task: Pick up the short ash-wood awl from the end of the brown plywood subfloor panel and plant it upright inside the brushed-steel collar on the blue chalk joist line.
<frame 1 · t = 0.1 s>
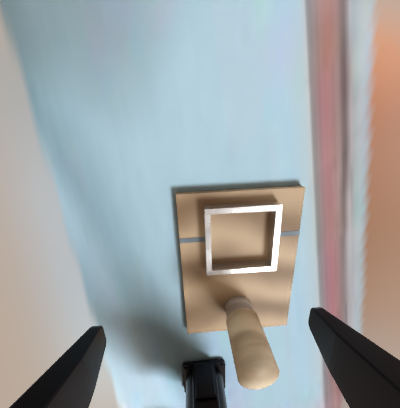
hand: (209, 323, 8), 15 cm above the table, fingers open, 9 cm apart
subfloor panel: (237, 265, 25), on the table
awl collar: (238, 233, 24), resting on subfloor panel
awl: (238, 307, 26), point 1 cm above the table, touching subfloor panel
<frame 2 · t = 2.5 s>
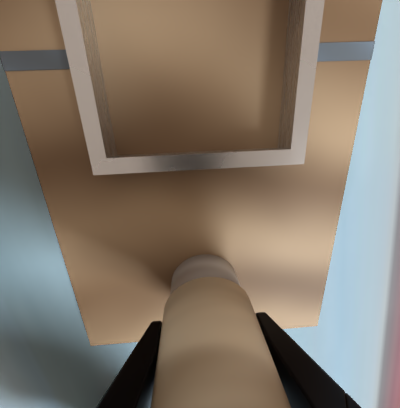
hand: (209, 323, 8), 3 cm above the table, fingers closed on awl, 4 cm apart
subfloor panel: (198, 171, 10), on the table
awl collar: (193, 63, 8), resting on subfloor panel
awl: (204, 282, 11), point 1 cm above the table, touching gripper, subfloor panel
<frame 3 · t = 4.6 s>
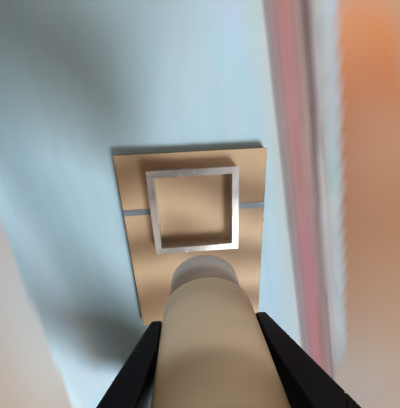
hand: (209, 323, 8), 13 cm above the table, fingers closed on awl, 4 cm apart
subfloor panel: (196, 244, 22), on the table
awl collar: (194, 206, 20), resting on subfloor panel
awl: (204, 283, 11), point 10 cm above the table, touching gripper
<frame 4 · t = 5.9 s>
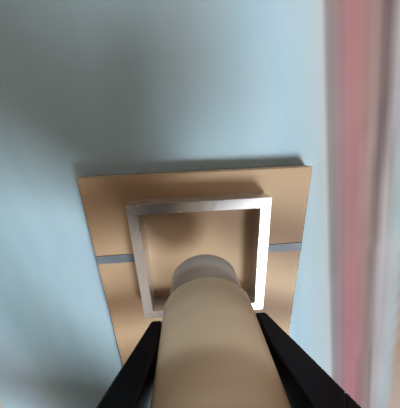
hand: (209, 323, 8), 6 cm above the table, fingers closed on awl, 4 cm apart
subfloor panel: (202, 296, 16), on the table
awl collar: (200, 246, 14), resting on subfloor panel
awl: (204, 282, 11), point 4 cm above the table, touching gripper
when the fingers open (4 cm above the table, at t = 7.0 s): awl drops 1 cm, resting on subfloor panel.
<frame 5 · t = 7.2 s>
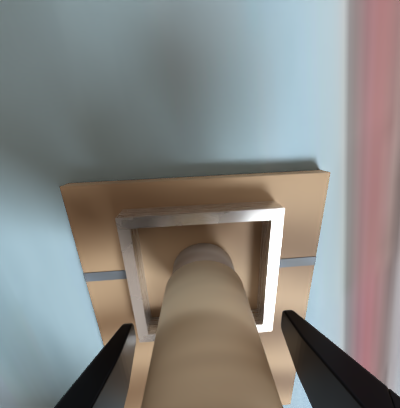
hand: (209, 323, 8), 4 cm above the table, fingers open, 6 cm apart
subfloor panel: (204, 314, 14), on the table
awl collar: (201, 260, 13), resting on subfloor panel
awl: (203, 269, 12), point 1 cm above the table, touching subfloor panel
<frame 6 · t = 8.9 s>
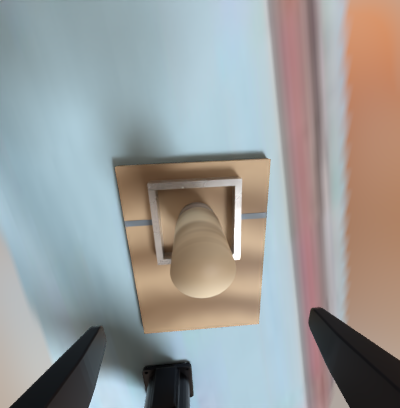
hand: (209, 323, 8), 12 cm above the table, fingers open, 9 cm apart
subfloor panel: (198, 254, 22), on the table
awl collar: (196, 216, 20), resting on subfloor panel
awl: (197, 219, 19), point 1 cm above the table, touching subfloor panel
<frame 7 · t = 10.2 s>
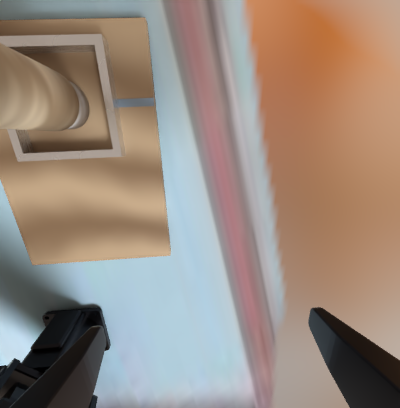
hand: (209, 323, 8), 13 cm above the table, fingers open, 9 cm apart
subfloor panel: (83, 161, 18), on the table
awl collar: (71, 106, 17), resting on subfloor panel
awl: (66, 105, 16), point 1 cm above the table, touching subfloor panel
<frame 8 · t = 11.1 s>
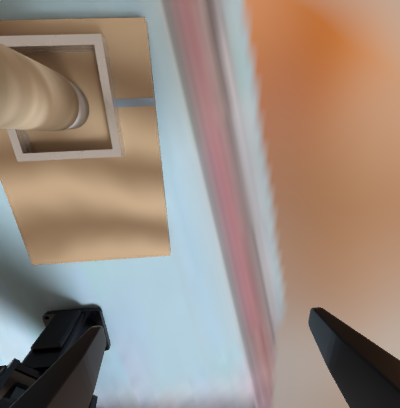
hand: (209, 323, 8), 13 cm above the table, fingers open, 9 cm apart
subfloor panel: (83, 161, 18), on the table
awl collar: (71, 106, 17), resting on subfloor panel
awl: (65, 105, 16), point 1 cm above the table, touching subfloor panel
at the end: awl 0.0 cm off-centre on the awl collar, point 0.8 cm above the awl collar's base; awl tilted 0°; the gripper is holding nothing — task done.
